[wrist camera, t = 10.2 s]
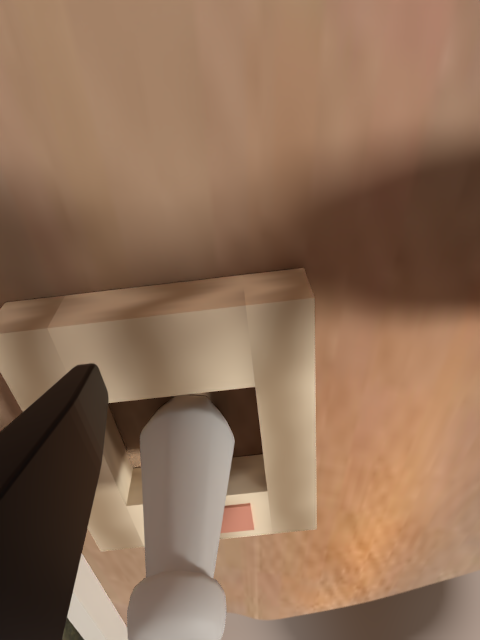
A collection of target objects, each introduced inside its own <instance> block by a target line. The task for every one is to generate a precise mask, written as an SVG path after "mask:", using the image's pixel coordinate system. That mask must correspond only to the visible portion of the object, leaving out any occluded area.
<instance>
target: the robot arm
mask: <svg viewBox="0 0 480 640" xmlns="http://www.w3.org/2000/svg"><path fill="white" fill-rule="evenodd" d="M108 402H109V397H108V391H107V388H106V386H105V383H104V380H103V378H102V375H101V373H100V370H99V368H98V366H97V365H96V364H94V363H89V364H80V365H76V366H75V367H73V368H72V369H71V370H70V371H69V372H68V373H67V374H65V375H64V376H63V377H62V378H61V379H60V380H59V381H58V382H56V383H55V384H54V385H53V386H52V387H51V388H50V389H48V390H47V391H46V392H45V393H44V394H43V395H42V396H41V397H39V398H38V399H37V400H36V401H35V402H34V403H33V404H31V405H30V406H29V407H28V408H27V409H26V410H25V411H24V412H22V413H21V414H20V415H19V416H18V417H17V418H16V419H14V420H13V421H12V422H11V423H10V424H9V425H8V426H7V427H5V428H4V429H3V430H2V431H1V432H0V640H62V637H63V633H64V629H65V624H66V620H67V616H68V611H69V607H70V602H71V598H72V594H73V589H74V585H75V580H76V576H77V572H78V567H79V563H80V558H81V554H82V550H83V545H84V541H85V537H86V532H87V528H88V523H89V519H90V515H91V510H92V506H93V501H94V497H95V493H96V488H97V484H98V480H99V475H100V470H101V465H102V458H103V449H104V440H105V430H106V421H107V411H108Z"/></svg>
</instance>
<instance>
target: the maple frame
mask: <svg viewBox="0 0 480 640" xmlns="http://www.w3.org/2000/svg"><path fill="white" fill-rule="evenodd" d="M89 363H94V364H96V365H97V366H98V368H99V370H100V373H101V375H102V378H103V380H104V383H105V386H106V388H107V391H108V397H109V402H108V403H114V402H123V401H132V400H141V399H150V398H159V397H168V396H177V395H186V394H195V393H204V392H213V391H223V390H232V389H241V388H250V387H255V389H256V398H257V406H258V415H259V423H260V432H261V440H262V449H263V454H261V455H252V456H242V457H233V458H232V462H231V469H230V475H229V481H228V488H227V494H226V500H225V507H224V513H223V520H222V526H221V532H220V539H227V538H237V537H246V536H256V535H266V534H276V533H285V532H295V531H305V530H315V529H317V506H316V399H315V298H314V295H313V292H312V289H311V286H310V284H309V281H308V278H307V275H306V272H305V270H304V268H298V269H289V270H281V271H272V272H264V273H255V274H246V275H238V276H229V277H220V278H212V279H203V280H195V281H186V282H177V283H169V284H160V285H152V286H143V287H134V288H126V289H117V290H108V291H100V292H91V293H83V294H74V295H65V296H57V297H48V298H40V299H31V300H22V301H14V302H5V304H4V305H3V306H2V308H1V309H0V372H1V374H2V376H3V378H4V379H5V381H6V383H7V385H8V387H9V388H10V390H11V392H12V394H13V396H14V397H15V399H16V401H17V403H18V404H19V406H20V408H21V410H22V412H24V411H25V410H26V409H27V408H28V407H29V406H30V405H31V404H33V403H34V402H35V401H36V400H37V399H38V398H39V397H41V396H42V395H43V394H44V393H45V392H46V391H47V390H48V389H50V388H51V387H52V386H53V385H54V384H55V383H56V382H58V381H59V380H60V379H61V378H62V377H63V376H64V375H65V374H67V373H68V372H69V371H70V370H71V369H72V368H73V367H75V366H76V365H80V364H89ZM88 530H89V531H90V533H91V535H92V537H93V539H94V540H95V542H96V544H97V546H98V548H99V549H100V551H110V550H120V549H130V548H140V547H145V540H144V517H143V494H142V472H141V467H139V468H133V467H132V464H131V461H130V459H129V456H128V454H127V451H126V449H125V446H124V444H123V441H122V439H121V436H120V433H119V431H118V428H117V426H116V423H115V421H114V418H113V416H112V413H111V411H110V408H109V406H108V411H107V421H106V430H105V440H104V449H103V458H102V465H101V470H100V475H99V480H98V484H97V488H96V493H95V497H94V501H93V506H92V510H91V515H90V519H89V523H88Z"/></svg>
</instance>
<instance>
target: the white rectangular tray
mask: <svg viewBox="0 0 480 640" xmlns="http://www.w3.org/2000/svg"><path fill="white" fill-rule="evenodd" d="M67 618H68V619H69V621H70V622H71V623H72V624H73V626H74V627H75V628H76V630H77V631H78V632H79V633H80V635H81V636H82V637H83V639H84V640H128V633H127V626H126V625H125V623H124V622H123V620H122V618H121V617H120V615H119V613H118V612H117V610H116V608H115V607H114V605H113V604H112V602H111V600H110V599H109V597H108V595H107V594H106V592H105V590H104V589H103V587H102V585H101V584H100V582H99V581H98V579H97V577H96V576H95V574H94V572H93V571H92V569H91V567H90V566H89V564H88V563H87V561H86V559H85V558H84V556H83V554H81V558H80V563H79V567H78V572H77V576H76V580H75V585H74V589H73V594H72V598H71V602H70V607H69V611H68V616H67Z"/></svg>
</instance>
